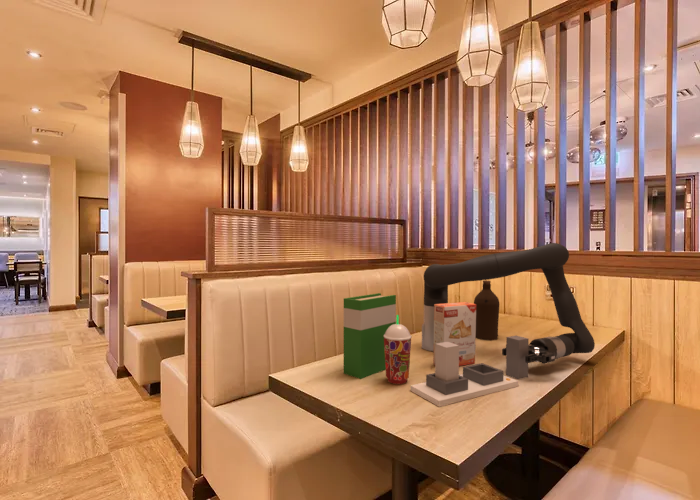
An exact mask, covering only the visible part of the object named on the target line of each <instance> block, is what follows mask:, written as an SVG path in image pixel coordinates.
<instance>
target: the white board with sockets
mask: <svg viewBox="0 0 700 500" xmlns="http://www.w3.org/2000/svg"><path fill="white" fill-rule="evenodd" d="M434 367H435V368H434V372H433V373H427V374H425V377H426V378H425V380H426V381H425V382H424V381H423V382H418V383H416V384H411V385H409V386H410V392H412V393H414V394H416V395H417V396H419V397H421V398H423V399H424V400H426V401H428V402H430V403H432V404H433V405H435V406H438V408H439V407H444V406H447V405H451V404H455V403H458V402H464V401H467V400H471V399H474V398H478V397H483V396H485V395H489V394H494V393H497V392H500V391H505V390H508V389H512V388H516V387H519V384H520V383H519V379H516V378H513V377H510V376H508V375H504V370H502V369H499V368H497V367H494V366H491V365H488V364H486V363H483V362H481V363H476V364H470V365H465V366H463V367H462V374H460V366H459V345H456V344H453V343H450V342H443V343H436V344H435V364H434Z"/></svg>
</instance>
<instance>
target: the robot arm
mask: <svg viewBox="0 0 700 500" xmlns="http://www.w3.org/2000/svg"><path fill="white" fill-rule="evenodd" d="M569 258H570V253H569V250H568V248H567V247H565V246H564V245H562V244H560V243H558V242H549V243H547V244H544V245H541V246H538V247H533V248H530V249H529V248H528V249H525V250H516V251H515V250H513V251H504V252H497V253H491V254H484V255H481V256H477V257H474V258H470V259H468V260H464V261H461V262H457V263H449V264H439V263H433V264H430V265H428V266H427V267H426V268H425V270H424V272H423V280H424V281H423V283H424V284H423V285H424V286H423V287H424V288H423V292H424V293H423V323H422V324H421V349H422V350H425V351H429V352H433V350H434V304H444V303H449V286H451V285H455V284H459V283H465V282H478V281H490V280H494V279H501V278H505V277H510V276H513V275H516V274H519V273H523V272H527V271H531V270H540V269H541V271H542V273H543V274H544V278H545V279H546V282H547V285H548V288H549V290H550V294H551V297H552V299H553V303H554V307H555V312H556V315H557V318H558V320H559V325H561V327H565V328H568V329H569V328H570V329H571V330H572V331H573V332H566V333H562V334H560V335H556V336H546V337H540V338H534V339H532V340H531V341H529V342H530V343H528V355H526V356H525V362H526V363H528V364H531V363H541V364H545V365H546V364H549V363H552V362H555V361H556V360H558V359H560V358H565V357H569V356H570V355H572V354H590V353H592V352H593V351H594V349H595V345H596V344H595V339H594V337H593V335H592V334H591V332H590V330H589V328H588V327H587V326H586V324H585V322H584V321H583V319H582V316H581V312H580V309H579V306H578V302H577V300H576V298H575V296H574V294H573V292H572V290H571V288H570V286H569V284H568V282H567V279H566V278H567V277H566V276H565V271H564V266H565V264H567V262H568V260H569ZM501 350H502V351H501V355H502V356H506V347H504V348H502V349H501Z"/></svg>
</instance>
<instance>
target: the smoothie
mask: <svg viewBox="0 0 700 500" xmlns="http://www.w3.org/2000/svg"><path fill="white" fill-rule="evenodd" d="M399 319H400V317H399V314H396V324H393V325H391V326H390V327H389V328H388V329H387V330H386V332H385V334H384V349H385V366H386V370H385V377H386V378H387V381H388V382H389V383H391V384H394V385H403V384H406V383H407V381H408V379H409V377H410V363H411V349H412V348H411V347H412V335H411V333H410V331H409V329H408V328H407V327H406V326H405V325H403V324H401V323H399Z"/></svg>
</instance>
